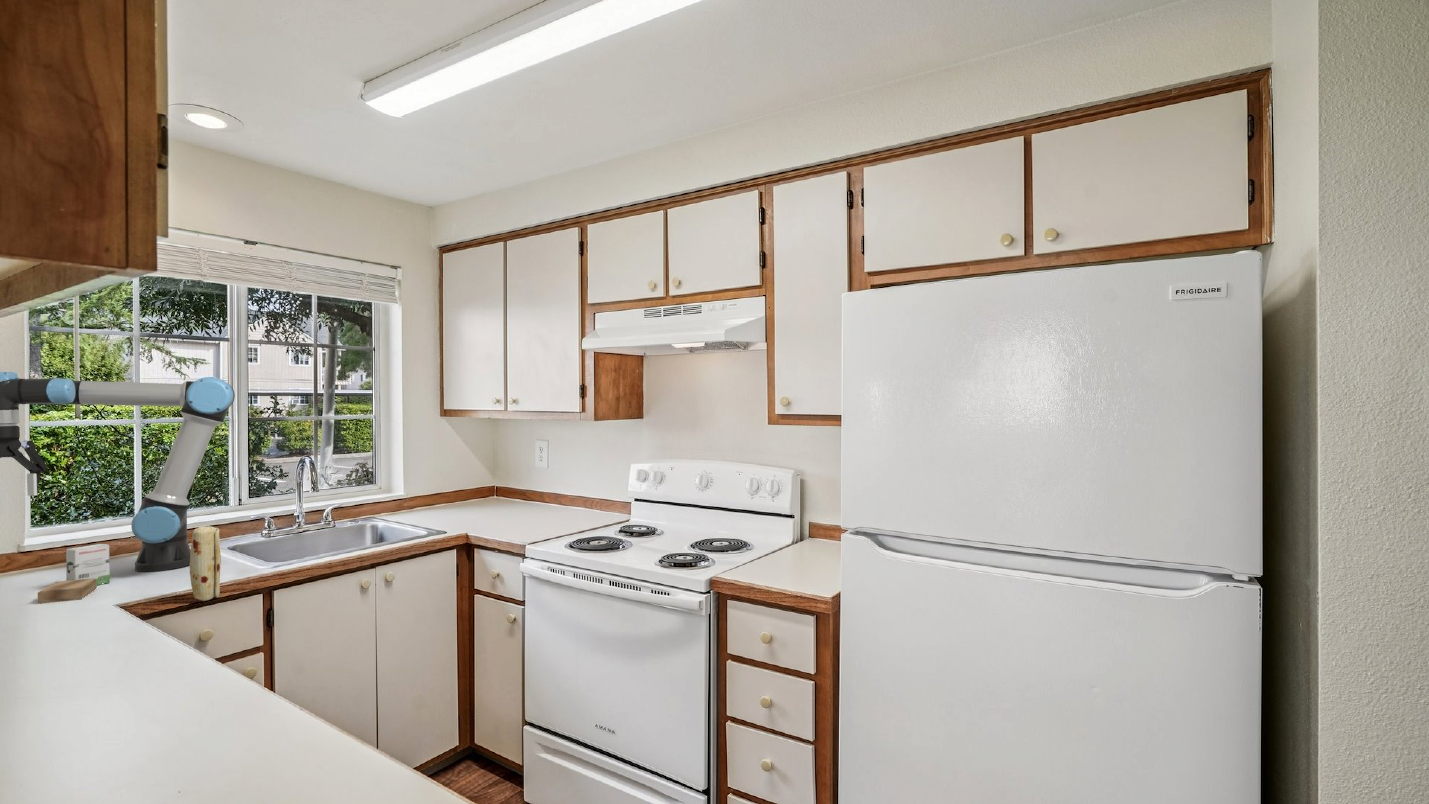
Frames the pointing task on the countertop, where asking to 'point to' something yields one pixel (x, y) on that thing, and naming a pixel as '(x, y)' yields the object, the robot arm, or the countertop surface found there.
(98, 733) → the countertop surface
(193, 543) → the food model
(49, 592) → the base
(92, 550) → the ink box
